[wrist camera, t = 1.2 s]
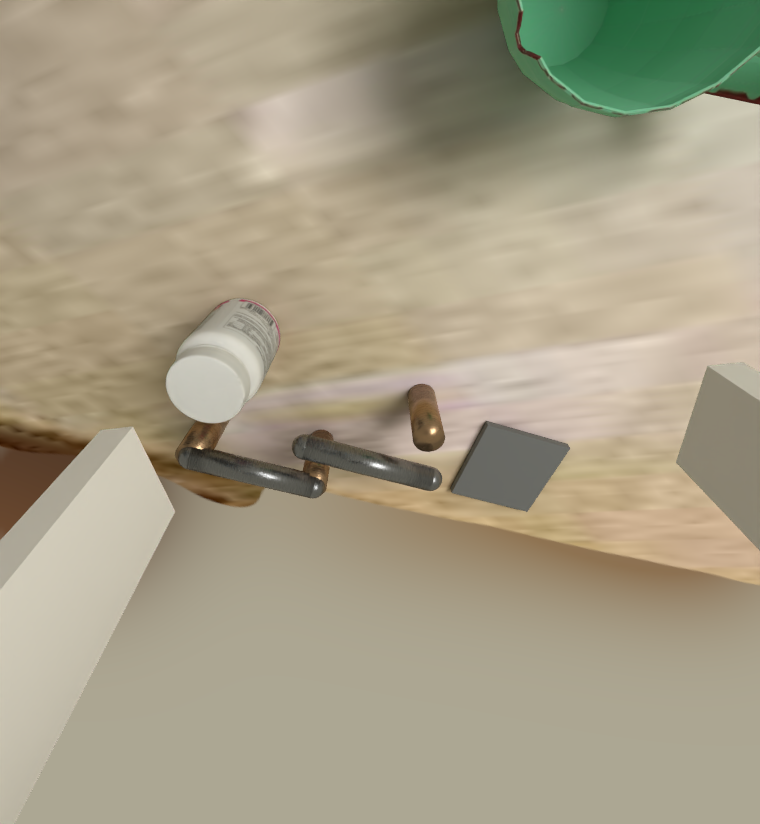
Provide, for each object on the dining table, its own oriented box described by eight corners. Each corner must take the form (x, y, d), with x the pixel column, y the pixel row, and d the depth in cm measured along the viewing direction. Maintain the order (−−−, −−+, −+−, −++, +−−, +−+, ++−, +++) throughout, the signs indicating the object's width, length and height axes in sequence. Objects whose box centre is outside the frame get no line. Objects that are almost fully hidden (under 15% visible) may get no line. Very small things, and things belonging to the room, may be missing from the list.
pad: (450, 487, 37) (451, 492, 36) (486, 420, 33) (488, 425, 33) (525, 506, 38) (527, 511, 37) (567, 443, 34) (570, 448, 34)
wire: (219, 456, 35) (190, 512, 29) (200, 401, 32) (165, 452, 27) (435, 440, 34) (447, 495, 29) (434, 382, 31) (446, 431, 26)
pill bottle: (223, 367, 31) (176, 434, 24) (200, 301, 28) (139, 354, 21) (289, 359, 30) (262, 424, 23) (271, 292, 28) (235, 341, 21)
